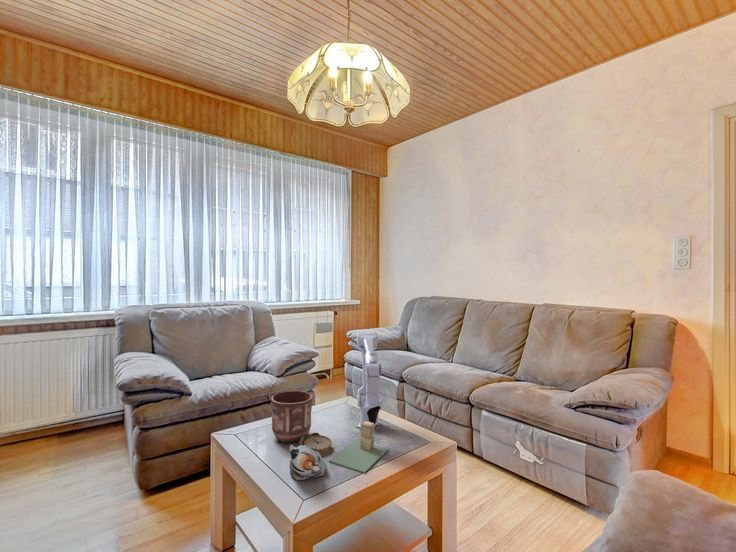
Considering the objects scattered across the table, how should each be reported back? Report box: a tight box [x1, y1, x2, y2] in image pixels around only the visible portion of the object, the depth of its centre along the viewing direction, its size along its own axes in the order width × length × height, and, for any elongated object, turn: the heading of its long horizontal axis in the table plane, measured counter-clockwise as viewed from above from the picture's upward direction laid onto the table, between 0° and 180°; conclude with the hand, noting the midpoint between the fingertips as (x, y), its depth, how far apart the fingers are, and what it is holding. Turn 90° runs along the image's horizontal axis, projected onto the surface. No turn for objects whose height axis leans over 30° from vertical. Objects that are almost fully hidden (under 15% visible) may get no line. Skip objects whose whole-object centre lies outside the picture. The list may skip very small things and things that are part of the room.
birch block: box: [360, 421, 375, 451], centre depth 149 cm, size 4×4×10 cm
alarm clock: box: [298, 432, 334, 457], centre depth 149 cm, size 11×5×15 cm
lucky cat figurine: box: [288, 444, 328, 482], centre depth 129 cm, size 15×12×14 cm
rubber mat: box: [328, 439, 389, 474], centre depth 143 cm, size 20×16×1 cm
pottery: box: [270, 390, 314, 444], centre depth 159 cm, size 18×18×18 cm
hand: (372, 423), depth 152 cm, fingers closed
